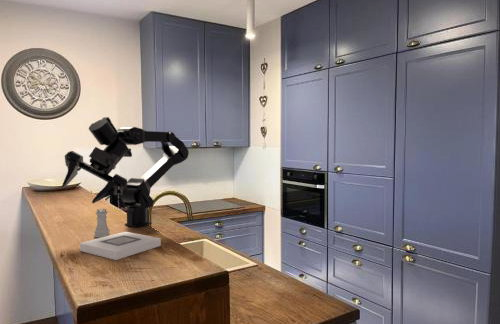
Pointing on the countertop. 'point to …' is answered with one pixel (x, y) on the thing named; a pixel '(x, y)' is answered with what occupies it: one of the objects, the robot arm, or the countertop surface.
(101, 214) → the rook chess piece
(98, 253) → the socket block
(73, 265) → the countertop surface
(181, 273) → the countertop surface
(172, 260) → the countertop surface
